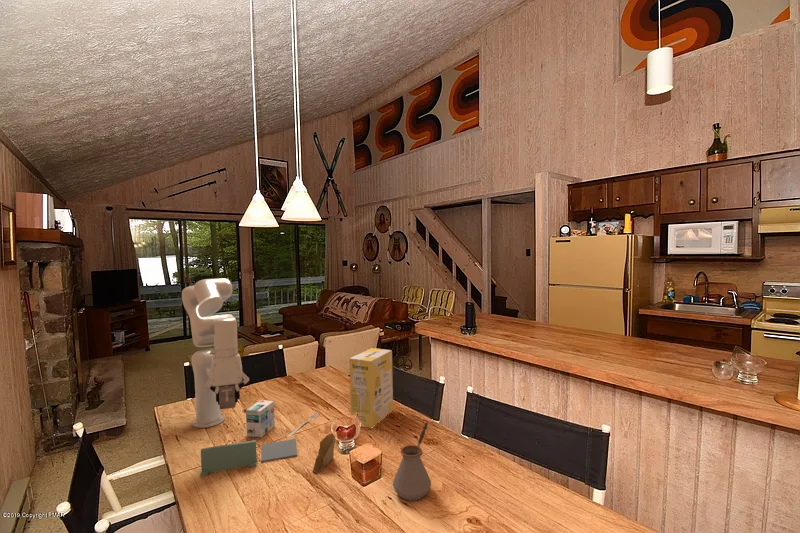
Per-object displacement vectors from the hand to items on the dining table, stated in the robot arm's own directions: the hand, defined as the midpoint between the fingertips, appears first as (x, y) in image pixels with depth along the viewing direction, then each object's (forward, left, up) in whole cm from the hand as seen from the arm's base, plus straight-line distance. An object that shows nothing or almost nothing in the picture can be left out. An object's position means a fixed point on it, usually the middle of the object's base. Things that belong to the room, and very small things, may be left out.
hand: (228, 401), depth 136 cm
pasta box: (-11, +56, -20) cm, 60 cm away
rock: (+18, +31, -20) cm, 41 cm away
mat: (+4, +17, -19) cm, 26 cm away
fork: (-13, +26, -20) cm, 35 cm away
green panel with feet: (+10, +1, -19) cm, 22 cm away
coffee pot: (+39, +58, -20) cm, 73 cm away
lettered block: (0, 0, -2) cm, 2 cm away
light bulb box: (-15, +10, -20) cm, 27 cm away
